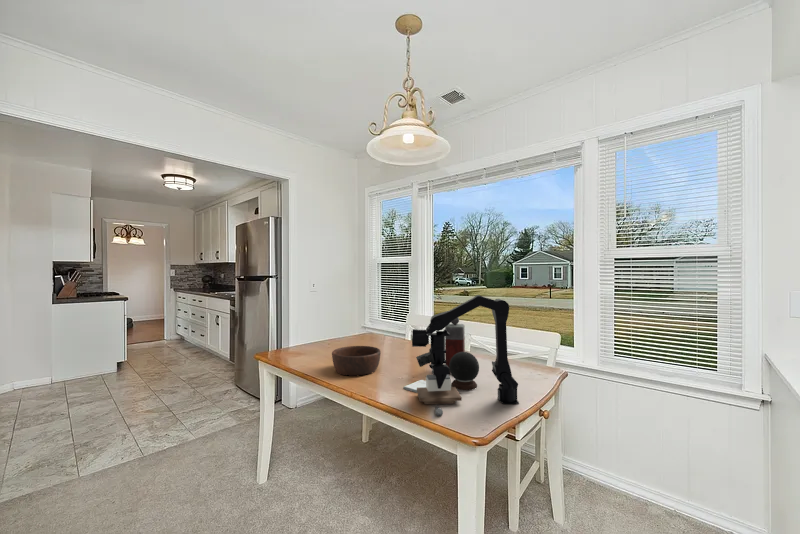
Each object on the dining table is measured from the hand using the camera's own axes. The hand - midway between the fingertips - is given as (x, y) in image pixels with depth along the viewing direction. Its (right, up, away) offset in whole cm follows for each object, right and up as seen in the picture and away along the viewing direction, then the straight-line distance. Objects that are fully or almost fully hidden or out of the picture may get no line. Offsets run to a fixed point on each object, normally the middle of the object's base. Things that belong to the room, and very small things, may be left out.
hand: (438, 386), depth 137 cm
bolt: (-2, -5, -12) cm, 13 cm away
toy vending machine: (+13, -6, +41) cm, 43 cm away
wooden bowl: (-38, -7, +42) cm, 56 cm away
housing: (0, -1, 0) cm, 1 cm away
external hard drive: (-7, -6, +15) cm, 18 cm away
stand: (0, -6, 0) cm, 6 cm away
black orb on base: (+13, -6, +17) cm, 22 cm away
